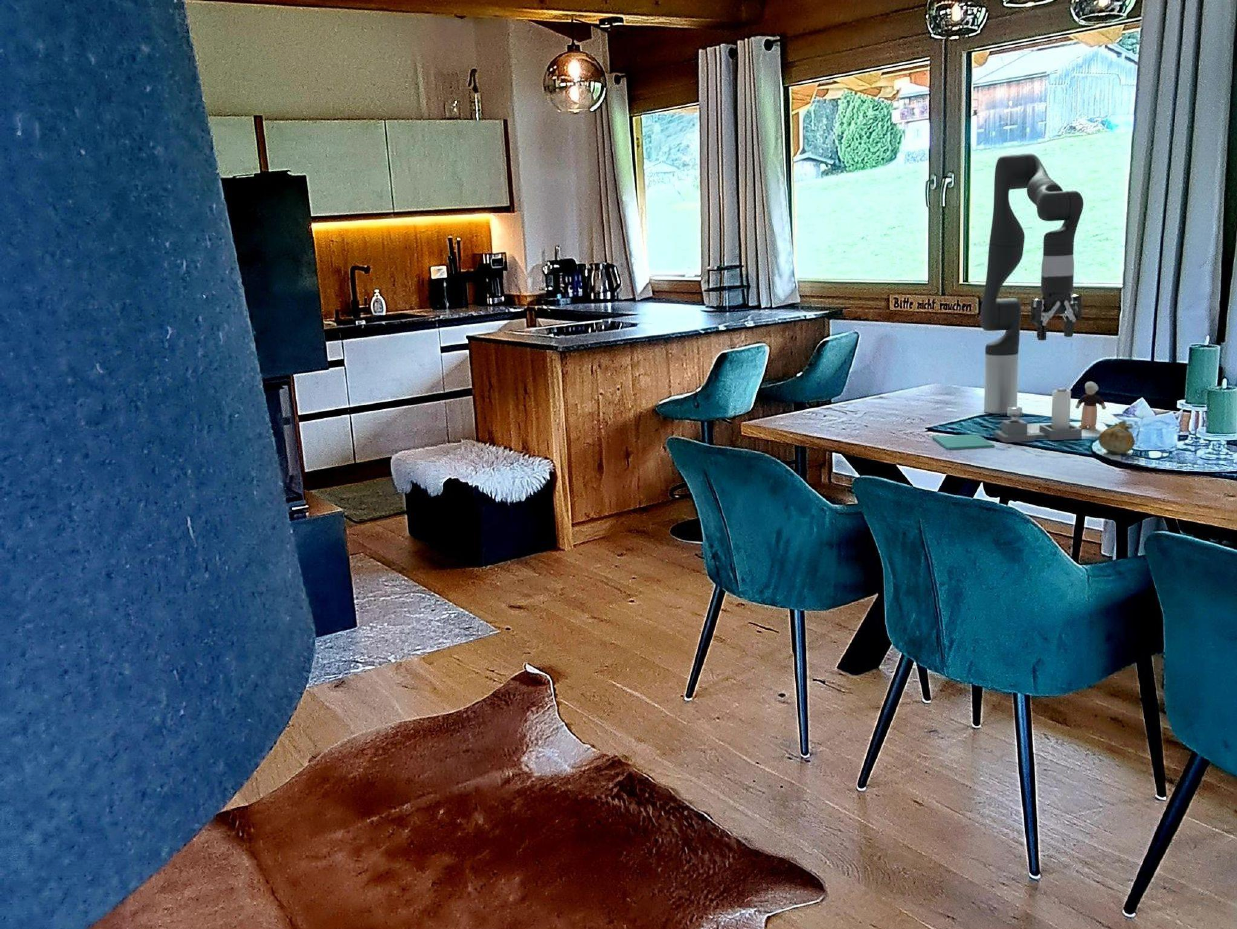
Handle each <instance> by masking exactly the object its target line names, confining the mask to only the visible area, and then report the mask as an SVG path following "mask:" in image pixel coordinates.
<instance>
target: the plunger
mask: <svg viewBox="0 0 1237 929" xmlns="http://www.w3.org/2000/svg"><path fill="white" fill-rule="evenodd" d="M1006 414H1007V417H1011V419H1010V420H1011V423H1018V420H1019V418H1020V417H1023V407H1021V406H1017V407H1008V412H1007V413H1006Z"/></svg>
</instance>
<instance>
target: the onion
mask: <svg viewBox="0 0 1237 929" xmlns="http://www.w3.org/2000/svg"><path fill="white" fill-rule="evenodd" d="M1133 428H1134V424H1133V423H1127V421H1126V420H1122V421H1118V422H1117V423H1114V424H1112V425H1111V426H1109V427H1107V428H1106V429H1104V430H1103V431H1102V432H1101V433H1100V434H1099V435H1098V443H1099V446H1101V448H1102V450H1105V451H1106V452H1107V453H1110V454H1111V453H1113V455H1123V454H1127V453H1129V452H1130V451H1131V450H1132V449H1133V448H1134V446H1135V444H1136V440H1135V437H1134V436H1133V433H1132V432H1131V431H1130V430H1131V429H1133Z"/></svg>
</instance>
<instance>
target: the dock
mask: <svg viewBox="0 0 1237 929" xmlns="http://www.w3.org/2000/svg"><path fill="white" fill-rule="evenodd" d="M1082 435H1083V428H1079V426H1076V425H1075V424H1072V423H1070V427H1069V429H1060V430H1052V429H1051V423H1049V424H1048V423H1047V424H1046V423H1045V424H1039V426H1038V432H1030V431H1028V422H1026V421H1025V420H1022V419H1018V423H1011V419H1006V420H1005V419H1004V420H1003V419H1002V420H1001V430H993V437H994V438H995V439H997V440H999V441H1001V442H1002V443H1021V442H1023V443H1024V442H1035V441H1036V439H1037V440H1038V439H1039V440H1040V439H1047V440H1049V441H1056V440H1057V441H1058V440H1059V441H1060V440H1061V441H1062V440H1074V439H1075V440H1076V439H1082V438H1083V437H1082Z"/></svg>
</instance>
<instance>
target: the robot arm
mask: <svg viewBox="0 0 1237 929" xmlns="http://www.w3.org/2000/svg"><path fill="white" fill-rule="evenodd" d="M993 180H994V182H993V183H994V186H993V188H994V189H993V212H992V218H991V219H992V221H991V228H990V234H989V235H990V236H989V242H988V243H989V244H988V251H987V252H988V255H987V256H988V257H987V267H986V279H985V285H984V291H983V296H982V301H981V307H980V316H979V318H980V320H979V321H980V326H981V328H982V330H983V331H986V332H987V331H988V332H995V331H996V332H999V331H1005V332H1004V334H1003V335H1002V336H1001V337H999V338H998V339H995V340H994V341H990V342H988V343H987V344H986V345H985V351H984V352H985V354H984V396H983V398H984V402H983V403H984V404H983V411H984V412H986V413H990V414H1007V412H1008V407H1018V387H1019V386H1018V385H1019V380H1018V379H1019V351H1020V350H1019V349H1020V348H1019V347H1020V333H1021V321H1022V305H1021V302H1020V300H1019V299H1018V298H1009V297H1008V298H998V295H999V293H1000V291H1001V289H1002V287H1003V285H1004V283H1005V282H1006V281H1007V279H1008V278H1009V277H1010V276H1011V275H1012V273H1013V272H1014V271H1015V270H1016V268H1017V267H1018V266H1019V264H1020V262H1021V260H1022V258H1023V255H1024V254H1023V253H1024V247H1025V239H1026V238H1025V237H1026V236H1025V231H1024V229H1023V227H1022V225H1021V223H1020V221H1019V219H1018V218H1017V216H1016V215H1015V213H1014V211H1013V209H1012V207H1011V204H1010V199H1009V198H1010V197H1009V194H1010V191H1011V190H1023V189H1026V193H1027V194H1026V195H1027V198H1028V199H1029V201H1031V202H1032V203H1033V205H1035V207H1036V213H1037V216H1038V218H1039V219H1040V220H1042V221H1044V222H1058V221H1059V222H1060V221H1063V223H1062V225H1061V226H1060V227H1059V228H1057V229H1055V230H1051V231H1048V232H1046V233H1045V234H1044V235H1043V240H1042V241H1043V242H1042V243H1043V247H1042V248H1043V249H1042V260H1041V261H1042V262H1041V273H1040V274H1041V277H1040V293H1041V294H1042V297H1041V299H1040V298H1033V299H1031V301H1030V302H1031V305H1030V317H1029V323H1030V324H1034V325H1035V326H1036V338H1037V340H1038V341H1046V340H1047V327H1048V326H1047V323H1048V322H1049V320H1050V319H1052V317H1053V316H1057V315H1060V316H1062V318H1063V319H1064V325H1063V326H1064V329H1063V336H1064V337H1065V338H1072V337H1073V335H1074V332H1075V331H1074V330H1075V322H1076V320H1078V319H1079V320H1080V319H1081V318H1082V295H1079V294H1071V293H1072V292H1073V291H1074V277H1075V276H1074V273H1075V260H1074V249H1075V247H1074V245H1075V236H1076V232H1077V228H1078V225H1079V222H1080V219H1081V216H1082V213H1083V210H1084V198H1083V196H1082V194H1081V193H1080V192H1079V191H1078V190H1063V188H1062V187H1061V186H1060V184H1058V183H1057V182H1056V181H1054V179H1052V178H1051V176H1049V174H1048V172H1047V170H1046V168H1045V167H1044V165H1043V163H1042V161H1041V159H1040V158H1039V157H1038V156H1037V155H1036V154H1034V153H1026V152H1025V153H1015V154H1004V155H1000V156H999V157H998V158H997V161H996V163H995V168H994V179H993Z"/></svg>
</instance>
